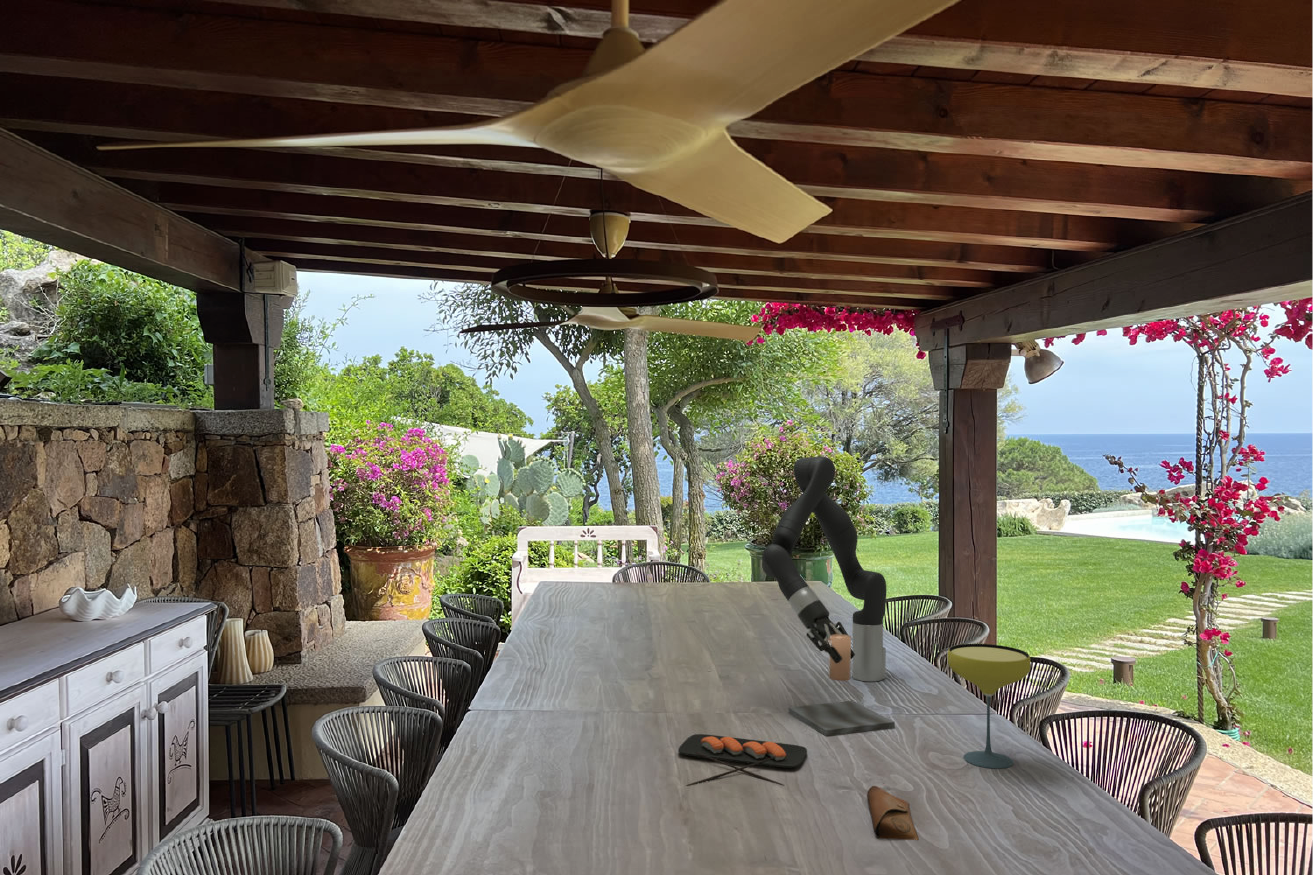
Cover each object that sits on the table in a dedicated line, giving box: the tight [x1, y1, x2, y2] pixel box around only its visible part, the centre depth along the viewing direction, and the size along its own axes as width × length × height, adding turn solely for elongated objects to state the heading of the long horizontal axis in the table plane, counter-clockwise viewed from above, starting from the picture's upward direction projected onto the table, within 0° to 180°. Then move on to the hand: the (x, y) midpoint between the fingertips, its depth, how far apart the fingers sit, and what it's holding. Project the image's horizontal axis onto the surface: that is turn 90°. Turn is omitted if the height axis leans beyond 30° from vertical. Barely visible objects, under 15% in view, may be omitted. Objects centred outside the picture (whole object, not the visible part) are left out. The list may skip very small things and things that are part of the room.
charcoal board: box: [788, 700, 896, 737], centre depth 237 cm, size 20×20×2 cm
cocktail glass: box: [946, 643, 1032, 770], centre depth 207 cm, size 18×18×25 cm
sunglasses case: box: [866, 785, 920, 841], centre depth 175 cm, size 18×7×7 cm
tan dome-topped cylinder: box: [828, 634, 852, 682], centre depth 237 cm, size 6×6×11 cm
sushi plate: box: [677, 733, 808, 787], centre depth 203 cm, size 29×30×4 cm
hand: (845, 659), depth 235 cm, fingers closed on tan dome-topped cylinder, 5 cm apart
